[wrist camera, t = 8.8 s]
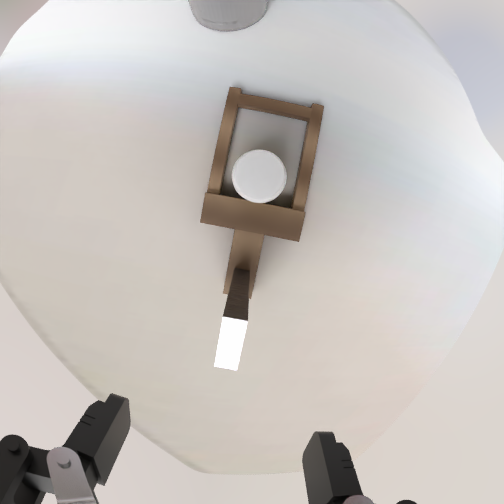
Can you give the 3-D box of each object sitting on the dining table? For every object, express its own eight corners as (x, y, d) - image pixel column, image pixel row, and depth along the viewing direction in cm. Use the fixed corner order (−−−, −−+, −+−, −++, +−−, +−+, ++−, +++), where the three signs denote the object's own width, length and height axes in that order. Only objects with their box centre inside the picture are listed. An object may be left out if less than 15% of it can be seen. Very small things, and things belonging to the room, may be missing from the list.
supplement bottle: (289, 173, 30) (302, 167, 22) (264, 209, 31) (268, 216, 23) (252, 148, 29) (251, 133, 21) (227, 185, 30) (217, 182, 22)
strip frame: (230, 91, 28) (215, 26, 14) (320, 109, 28) (366, 58, 14) (193, 289, 32) (156, 353, 19) (279, 305, 33) (295, 378, 19)
